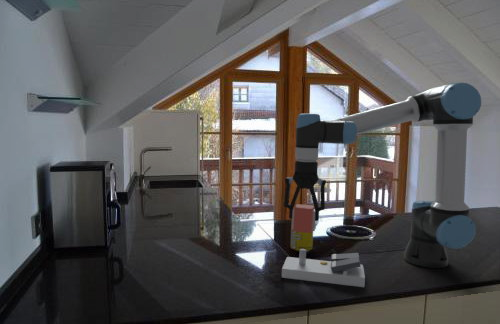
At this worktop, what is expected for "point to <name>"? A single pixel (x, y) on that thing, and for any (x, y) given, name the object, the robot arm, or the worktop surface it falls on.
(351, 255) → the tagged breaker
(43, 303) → the worktop surface
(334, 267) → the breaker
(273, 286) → the worktop surface
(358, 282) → the panel
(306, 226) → the red rectangular block
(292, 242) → the beverage can
